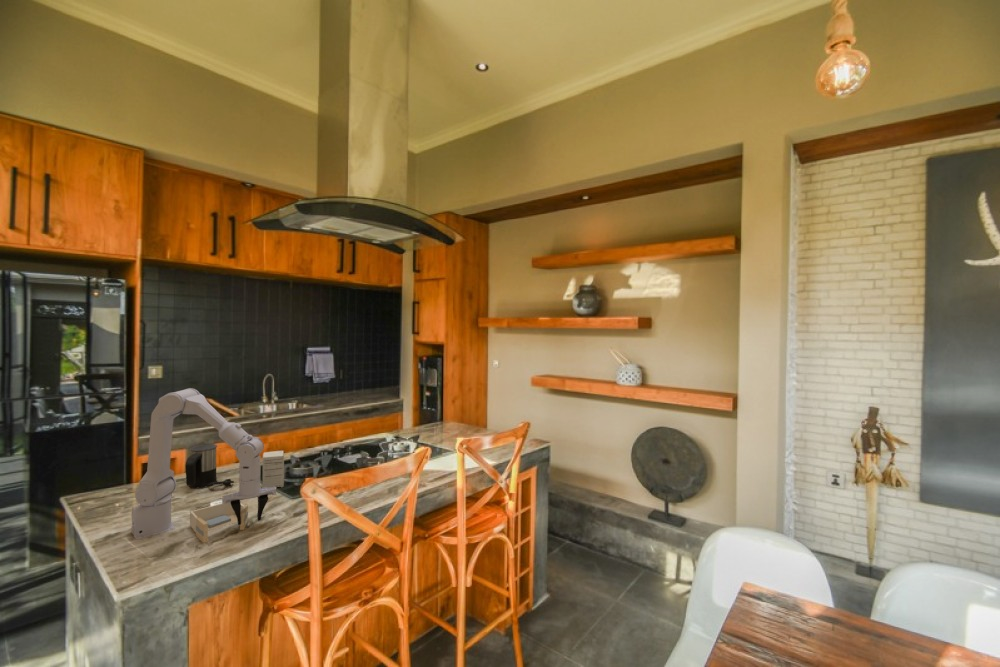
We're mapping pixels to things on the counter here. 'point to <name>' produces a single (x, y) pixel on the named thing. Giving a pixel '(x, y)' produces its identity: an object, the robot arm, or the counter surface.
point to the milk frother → (203, 467)
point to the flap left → (201, 529)
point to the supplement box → (273, 469)
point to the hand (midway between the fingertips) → (249, 521)
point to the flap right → (244, 517)
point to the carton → (214, 514)
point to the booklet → (218, 521)
